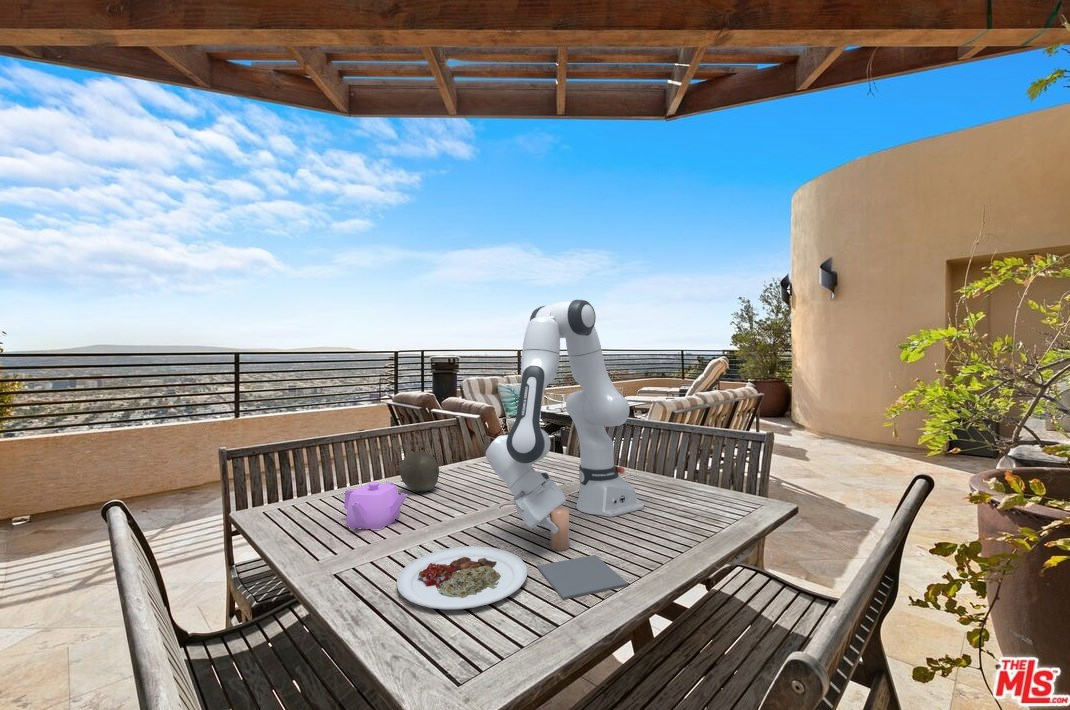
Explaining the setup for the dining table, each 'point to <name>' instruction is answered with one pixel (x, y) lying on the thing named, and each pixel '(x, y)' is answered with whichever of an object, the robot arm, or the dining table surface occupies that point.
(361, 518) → the teakettle
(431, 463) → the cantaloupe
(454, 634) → the dining table surface
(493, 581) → the plated food
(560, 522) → the tan rounded cylinder
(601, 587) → the mat
